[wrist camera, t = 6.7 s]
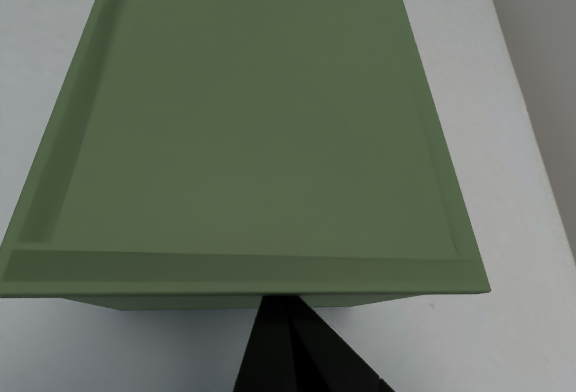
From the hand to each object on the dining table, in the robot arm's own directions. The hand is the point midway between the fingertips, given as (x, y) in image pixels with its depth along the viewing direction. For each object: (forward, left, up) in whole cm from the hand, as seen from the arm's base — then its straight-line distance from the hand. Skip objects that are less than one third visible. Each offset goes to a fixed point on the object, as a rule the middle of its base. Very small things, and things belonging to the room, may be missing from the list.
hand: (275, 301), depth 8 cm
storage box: (+7, +5, -8) cm, 11 cm away
